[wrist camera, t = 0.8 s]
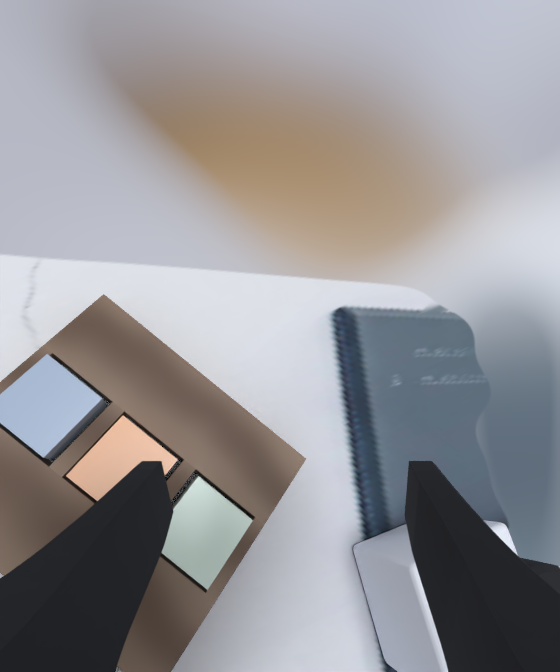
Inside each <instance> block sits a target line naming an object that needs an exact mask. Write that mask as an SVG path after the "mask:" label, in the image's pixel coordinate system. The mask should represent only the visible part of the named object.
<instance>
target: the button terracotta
mask: <svg viewBox="0 0 560 672" xmlns="http://www.w3.org/2000/svg"><path fill="white" fill-rule="evenodd" d="M177 460H178V459H177V458H175V457H174V456H173V455H172V454H170V453H169V452H168V451H167V450H165V449H164V448H163V447H162V446H160V445H159V444H158V443H157V442H156V441H154V440H153V439H152V438H151V437H149V436H148V435H147V434H146V433H144V432H143V431H142V430H141V429H139V428H138V427H137V426H136V425H135V424H133V423H132V422H131V421H130V420H128V419H127V418H126V417H125V416H122V417H121V418H120V419H119V420H118V421H117V422H116V423H115V424H114V425H113V426H112V427H111V429H110V430H109V431H108V432H107V433H106V434H105V435H104V436H103V437H102V438H101V439H100V440H99V441H98V442H97V443H96V444H95V445H94V447H93V448H92V449H91V450H90V451H89V452H88V453H87V454H86V455H85V456H84V457H83V458H82V459H81V460H80V461H79V462H78V464H77V465H76V466H75V467H74V468H73V469H72V470H71V471H70V472H69V473H68V474H67V475H66V476H67V477H68V478H69V479H70V480H72V481H73V482H74V483H75V484H77V485H78V486H79V487H80V488H82V489H83V490H84V491H85V492H87V493H88V494H89V495H90V496H92V497H93V498H94V499H95V500H97V501H98V500H99V499H100V498H102V497H103V496H104V495H105V494H106V493H107V492H108V491H109V490H110V489H112V488H113V487H114V486H115V485H116V484H117V483H118V482H119V481H120V480H121V479H122V478H123V477H125V476H126V475H127V474H128V473H129V472H130V471H131V470H132V469H133V468H134V467H136V466H137V465H138V464H139V463H140V462H141V461H162V465H163V470H164V474H165V475H166V474H167V473H168V471H169V470H170V469H171V468H172V466H173V465H174V464H175V463H176V461H177Z"/></svg>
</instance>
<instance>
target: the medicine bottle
mask: <svg viewBox="0 0 560 672" xmlns="http://www.w3.org/2000/svg"><path fill="white" fill-rule="evenodd" d="M483 521H484V520H483ZM484 522H485V523H486V524H487V525H488V526H489V527H490V528H491V529H492V530H493V531H494V532H495V533H496V534H497V535H498V536H499V538H500V539H501V540H502V541H503V542H504V543H505V544H506V545H507V546H508V547H509V548H510V549H511V550H512V551H513V552H514V553H516V554H517V552H516V549H515V547H514V544H513V542H512V539H511V536H510V534H509V531H508V529H507V527H506V525H504V524H503V523H500V522H492V521H484ZM353 552H354V555H355V559H356V562H357V566H358V569H359V573H360V576H361V580H362V583H363V587H364V590H365V594H366V597H367V601H368V604H369V608H370V611H371V615H372V618H373V622H374V625H375V629H376V632H377V636H378V639H379V643H380V646H381V650H382V653H383V657H384V659H385V661H386V663H387V664H389V665H390V666H391V667H392V668H394V669H395V670H396V671H397V672H448V668H447V665H446V661H445V657H444V654H443V650H442V647H441V643H440V640H439V637H438V634H437V630H436V627H435V624H434V621H433V618H432V615H431V611H430V608H429V605H428V602H427V599H426V596H425V592H424V589H423V586H422V583H421V580H420V576H419V573H418V570H417V567H416V564H415V560H414V557H413V554H412V549H411V545H410V540H409V535H408V530H407V525H406V524H405V525H402V526H400V527H397V528H395V529H392V530H390V531H387V532H385V533H382V534H380V535H377V536H375V537H372V538H370V539H368V540H365V541H363V542H360V543H358V544H356V545H354V547H353ZM521 559H522V560H523V561H524V562H525V563H526V564H527V565H528V566H529V567H530V568H531V569H532V570H533V571H534V572H535V573H537V574H538V575H539V576H540V577H541V578H542V579H543V580H544V581H545V582H547V583H548V584H549V585H550V586H551V587H552V588H553V589H554V590H556V591H557V592H558V593H559V594H560V567H559V566H556V565H552V564H547V563H543V562H538V561H533V560H529V559H523V558H521Z"/></svg>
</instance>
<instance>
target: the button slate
mask: <svg viewBox="0 0 560 672" xmlns="http://www.w3.org/2000/svg"><path fill="white" fill-rule="evenodd" d="M106 407H107V405H106V403H105V402H104V400H103V399H102V398H101V397H100V396H99V395H97V394H96V393H95V392H94V391H93V390H91V389H90V388H89V387H88V386H86V385H85V384H84V383H83V382H81V381H80V380H79V379H78V378H76V377H75V376H74V375H73V374H72V373H70V372H69V371H68V370H67V369H65V368H64V367H63V366H62V365H60V364H59V363H58V362H57V361H55V360H54V359H53V358H52V357H50V356H49V355H48V354H46V355H45V356H44V357H43V358H42V359H41V360H39V361H38V362H37V363H36V364H35V365H34V366H33V367H31V368H30V369H29V370H28V371H27V372H26V373H24V374H23V375H22V376H21V377H20V378H19V379H17V380H16V381H15V382H14V383H13V384H12V385H11V386H9V387H8V388H7V389H6V390H5V391H4V392H2V393H1V394H0V423H1V424H2V425H3V426H5V427H6V428H7V429H8V430H10V431H11V432H12V433H13V434H15V435H16V436H17V437H18V438H20V439H21V440H22V441H23V442H24V443H26V444H27V445H28V446H29V447H31V448H32V449H33V450H34V451H36V452H37V453H38V454H39V455H41V456H42V457H43V458H47V459H52V460H55V459H56V458H57V457H58V456H59V455H60V454H61V453H62V452H63V451H64V449H65V448H66V447H67V446H68V445H69V444H70V443H71V442H72V441H73V440H74V439H75V438H76V437H77V436H78V435H79V434H80V433H81V432H82V431H83V430H84V429H85V428H86V427H87V426H88V425H89V424H90V423H91V422H92V421H93V420H94V419H95V418H96V417H97V416H98V415H99V414H100V413H101V412H102V411H103V410H104V409H105V408H106Z"/></svg>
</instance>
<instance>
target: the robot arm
mask: <svg viewBox="0 0 560 672" xmlns="http://www.w3.org/2000/svg"><path fill="white" fill-rule="evenodd" d="M172 515H173V508H172V504H171V500H170V495H169V491H168V487H167V483H166V478H165V474H164V470H163V465H162V461H141V462H140V463H139V464H138V465H137V466H136V467H134V468H133V469H132V470H131V471H130V472H129V473H128V474H127V475H126V476H125V477H123V478H122V479H121V480H120V481H119V482H118V483H117V484H116V485H115V486H114V487H113V488H112V489H110V490H109V491H108V492H107V493H106V494H105V495H104V496H103V497H102V498H100V499H99V500H98V501H97V502H96V503H95V504H94V505H93V506H92V507H90V508H89V509H88V510H87V511H86V512H85V513H84V514H83V515H81V516H80V517H79V518H78V519H77V520H75V521H74V522H73V523H72V524H71V525H69V526H68V527H67V528H66V529H65V530H63V531H62V532H61V533H60V534H59V535H57V536H56V537H55V538H54V539H53V540H51V541H50V542H49V543H48V544H46V545H45V546H44V547H43V548H41V549H40V550H39V551H37V552H36V553H35V554H33V555H32V556H31V557H30V558H28V559H27V560H25V561H24V562H23V563H21V564H20V565H19V566H17V567H16V568H14V569H13V570H12V571H10V572H9V573H8V574H6V575H5V576H3V577H2V578H0V672H115V671H116V668H117V664H118V661H119V658H120V655H121V652H122V649H123V646H124V644H125V641H126V638H127V636H128V633H129V630H130V628H131V625H132V623H133V621H134V618H135V616H136V613H137V611H138V609H139V606H140V604H141V601H142V599H143V596H144V594H145V592H146V589H147V587H148V584H149V582H150V580H151V577H152V575H153V572H154V570H155V567H156V565H157V562H158V560H159V558H160V555H161V552H162V550H163V547H164V544H165V541H166V537H167V534H168V530H169V527H170V523H171V519H172ZM405 519H406V525H407V530H408V535H409V540H410V545H411V549H412V554H413V557H414V560H415V564H416V567H417V570H418V573H419V576H420V580H421V583H422V586H423V589H424V592H425V596H426V599H427V602H428V605H429V608H430V611H431V615H432V618H433V621H434V624H435V627H436V630H437V634H438V637H439V640H440V643H441V647H442V650H443V654H444V657H445V661H446V665H447V668H448V672H560V594H559V593H558V592H557V591H556V590H554V589H553V588H552V587H551V586H550V585H549V584H548V583H547V582H545V581H544V580H543V579H542V578H541V577H540V576H539V575H538V574H537V573H535V572H534V571H533V570H532V569H531V568H530V567H529V566H528V565H527V564H526V563H525V562H524V561H523V560H522V559H521V558H520V557H519V556H518V555H517V554H516V553H514V552H513V551H512V550H511V549H510V548H509V547H508V546H507V545H506V544H505V543H504V542H503V541H502V540H501V539H500V538H499V536H498V535H497V534H496V533H495V532H494V531H493V530H492V529H491V528H490V527H489V526H488V525H487V524H486V523H485V522H484V521H483V520H482V518H481V517H480V516H479V515H478V514H477V513H476V512H475V511H474V510H473V509H472V508H471V506H470V505H469V504H468V503H467V502H466V501H465V500H464V498H463V497H462V496H461V495H460V494H459V493H458V491H457V490H456V489H455V488H454V487H453V486H452V484H451V483H450V482H449V481H448V480H447V478H446V477H445V476H444V475H443V474H442V472H441V471H440V470H439V469H438V467H437V466H436V465H435V464H434V463H433V462H432V461H409V468H408V481H407V493H406V505H405Z"/></svg>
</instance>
